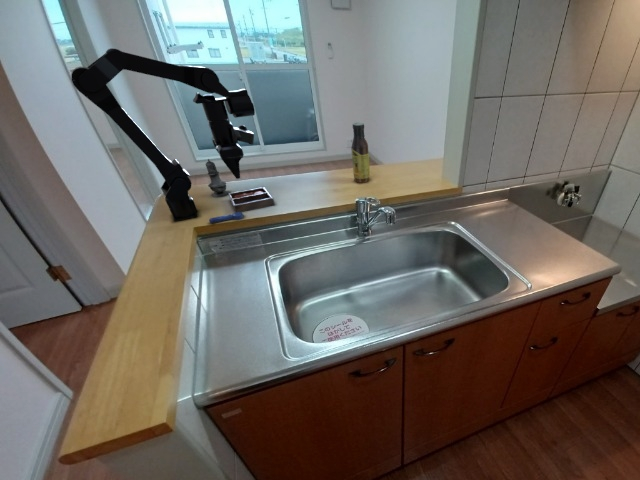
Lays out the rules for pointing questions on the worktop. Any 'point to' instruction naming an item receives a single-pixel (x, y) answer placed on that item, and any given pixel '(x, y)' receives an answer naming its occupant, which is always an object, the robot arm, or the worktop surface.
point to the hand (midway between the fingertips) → (235, 174)
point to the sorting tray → (251, 200)
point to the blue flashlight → (227, 217)
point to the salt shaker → (216, 181)
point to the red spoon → (248, 194)
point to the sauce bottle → (360, 154)
